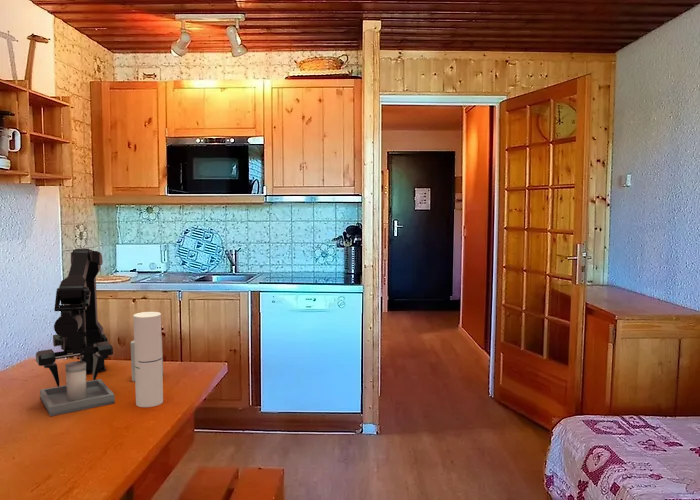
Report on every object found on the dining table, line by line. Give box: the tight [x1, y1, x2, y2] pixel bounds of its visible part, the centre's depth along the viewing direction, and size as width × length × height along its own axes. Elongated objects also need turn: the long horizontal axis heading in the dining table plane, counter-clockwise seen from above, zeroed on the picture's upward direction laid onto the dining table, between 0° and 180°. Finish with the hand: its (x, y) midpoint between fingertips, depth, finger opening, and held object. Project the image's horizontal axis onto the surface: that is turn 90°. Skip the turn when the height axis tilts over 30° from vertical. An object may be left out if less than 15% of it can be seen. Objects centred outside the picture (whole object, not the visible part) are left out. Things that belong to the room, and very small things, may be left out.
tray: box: [39, 378, 116, 417], centre depth 157 cm, size 16×16×2 cm
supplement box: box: [129, 340, 164, 382], centre depth 176 cm, size 7×7×13 cm
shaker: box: [64, 360, 87, 401], centre depth 156 cm, size 5×5×10 cm
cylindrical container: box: [132, 311, 164, 408], centre depth 155 cm, size 7×7×25 cm
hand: (76, 383), depth 156 cm, fingers open, 9 cm apart
